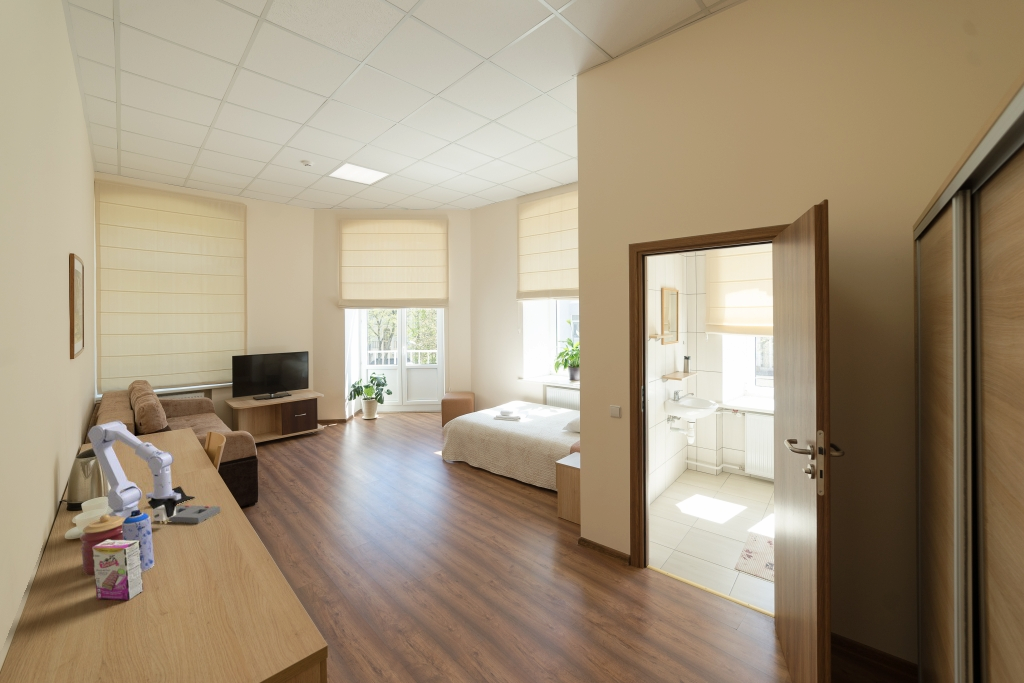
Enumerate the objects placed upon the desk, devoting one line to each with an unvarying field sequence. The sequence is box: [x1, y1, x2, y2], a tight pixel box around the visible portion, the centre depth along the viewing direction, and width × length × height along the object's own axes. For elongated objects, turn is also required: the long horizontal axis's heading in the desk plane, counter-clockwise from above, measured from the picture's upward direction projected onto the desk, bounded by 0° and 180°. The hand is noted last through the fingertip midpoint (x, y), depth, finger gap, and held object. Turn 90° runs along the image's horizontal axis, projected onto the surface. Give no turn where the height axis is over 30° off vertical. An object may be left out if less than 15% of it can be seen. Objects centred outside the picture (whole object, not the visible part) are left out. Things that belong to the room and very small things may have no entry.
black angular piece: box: [163, 486, 196, 505], centre depth 210 cm, size 12×7×10 cm
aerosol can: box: [122, 509, 156, 573], centre depth 152 cm, size 8×8×20 cm
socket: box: [166, 504, 221, 524], centre depth 193 cm, size 11×20×3 cm, turn 80°
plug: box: [152, 505, 177, 525], centre depth 182 cm, size 7×5×6 cm
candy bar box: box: [92, 540, 144, 601], centre depth 136 cm, size 11×5×16 cm, turn 84°
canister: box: [79, 513, 126, 575], centre depth 155 cm, size 13×13×18 cm
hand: (164, 516), depth 183 cm, fingers closed on plug, 5 cm apart
